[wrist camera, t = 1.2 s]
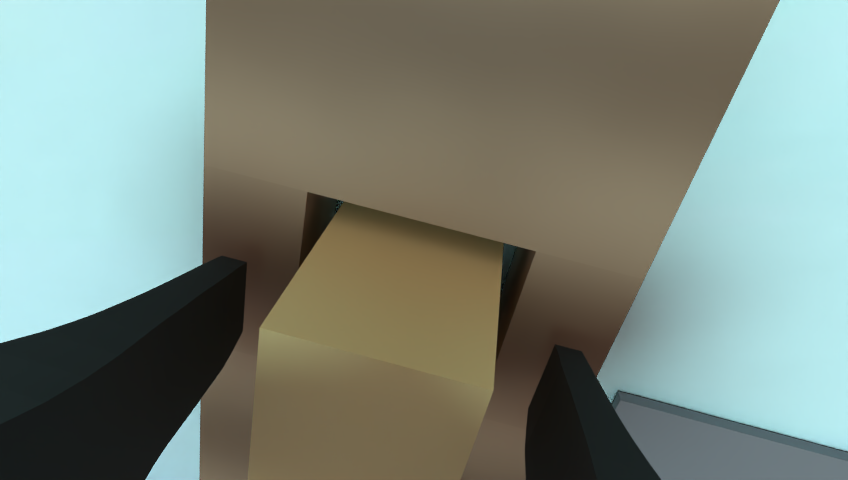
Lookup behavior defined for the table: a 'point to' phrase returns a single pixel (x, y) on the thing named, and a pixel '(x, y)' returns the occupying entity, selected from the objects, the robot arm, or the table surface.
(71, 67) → the table surface
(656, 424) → the charcoal mat
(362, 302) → the ochre peg
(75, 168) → the table surface
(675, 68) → the wooden board with hole
